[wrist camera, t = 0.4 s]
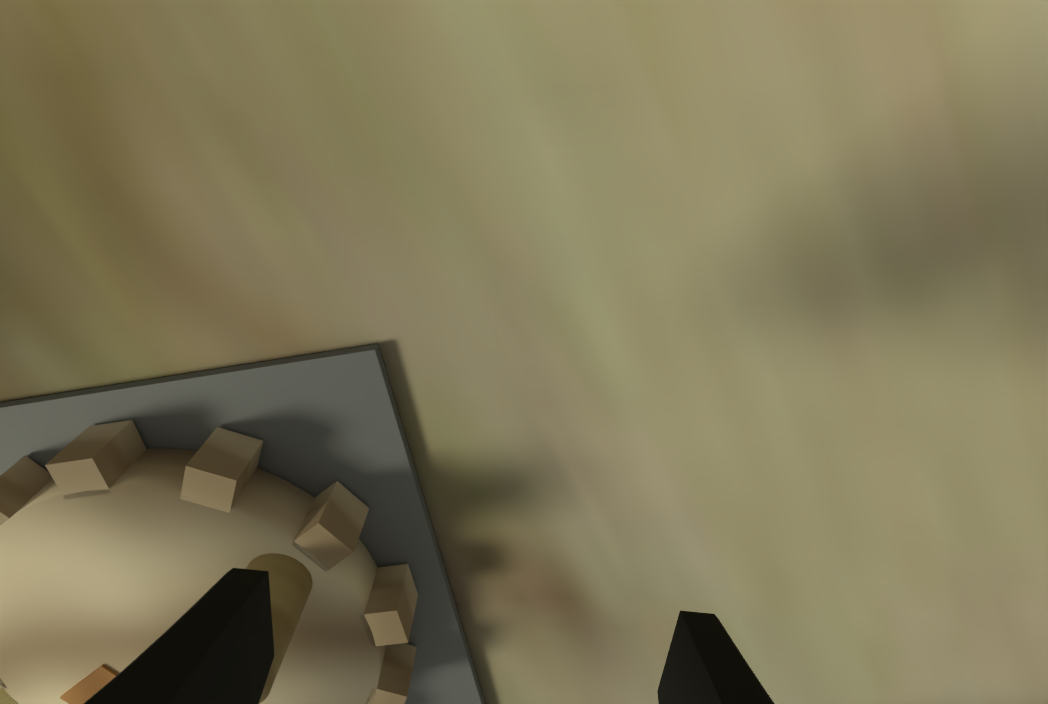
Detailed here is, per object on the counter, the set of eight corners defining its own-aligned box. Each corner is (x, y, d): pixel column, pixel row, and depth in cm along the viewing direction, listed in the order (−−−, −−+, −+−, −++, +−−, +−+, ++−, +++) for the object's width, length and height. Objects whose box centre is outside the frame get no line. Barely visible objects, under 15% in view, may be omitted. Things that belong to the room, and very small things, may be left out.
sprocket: (460, 724, 26) (442, 889, 21) (99, 760, 27) (2, 923, 22) (350, 386, 19) (286, 509, 14) (-114, 456, 21) (-318, 590, 16)
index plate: (492, 726, 27) (491, 737, 26) (95, 766, 28) (88, 777, 28) (377, 344, 19) (374, 350, 19) (-148, 425, 21) (-161, 433, 21)
